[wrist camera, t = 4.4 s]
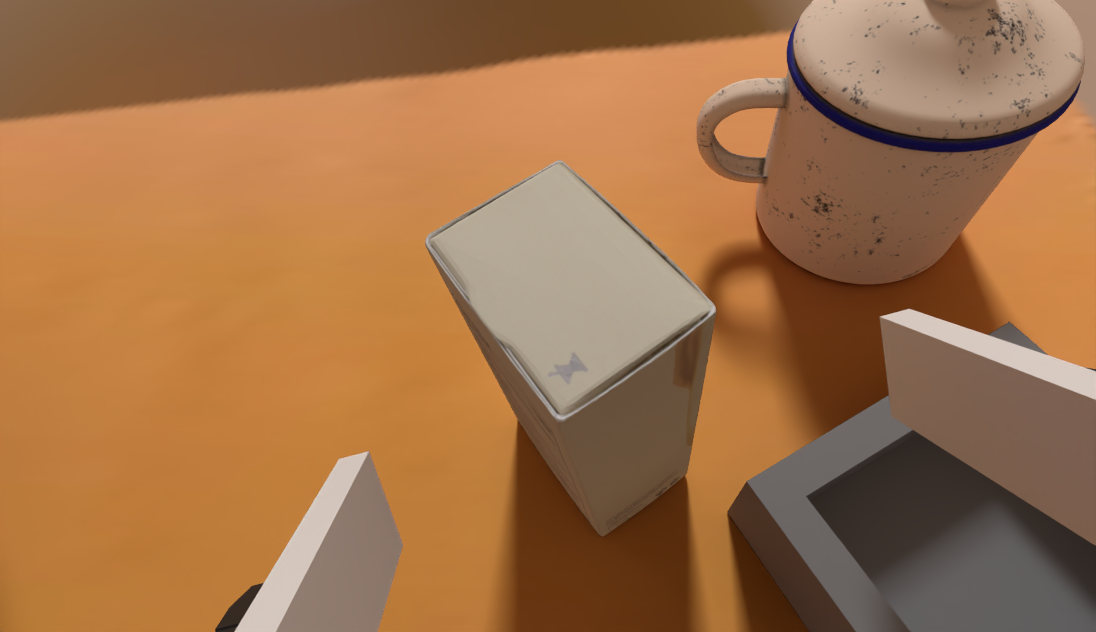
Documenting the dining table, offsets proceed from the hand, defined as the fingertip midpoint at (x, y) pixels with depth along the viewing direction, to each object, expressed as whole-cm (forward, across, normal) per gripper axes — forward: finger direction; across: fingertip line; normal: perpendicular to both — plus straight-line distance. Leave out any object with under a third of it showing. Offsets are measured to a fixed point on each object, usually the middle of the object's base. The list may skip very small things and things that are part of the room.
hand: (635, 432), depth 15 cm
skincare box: (+8, -1, -4) cm, 9 cm away
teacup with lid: (+14, +12, +2) cm, 19 cm away
